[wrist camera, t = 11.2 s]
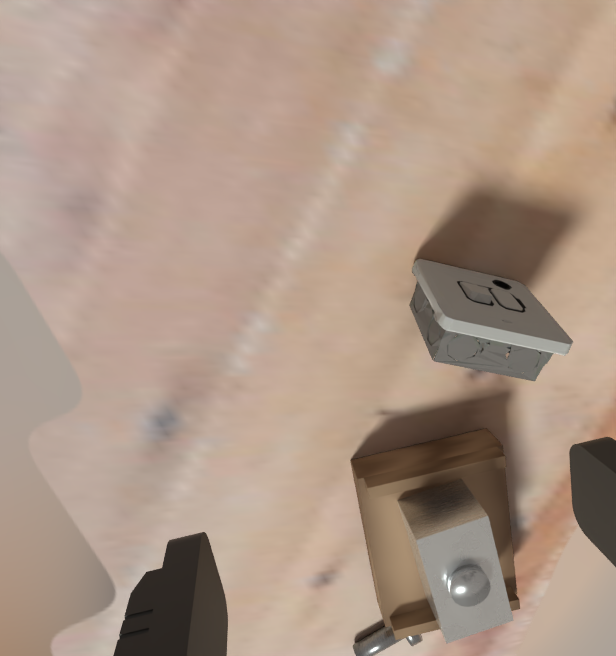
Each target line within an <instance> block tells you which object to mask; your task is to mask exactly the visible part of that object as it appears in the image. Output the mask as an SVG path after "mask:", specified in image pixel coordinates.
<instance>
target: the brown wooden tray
mask: <svg viewBox="0 0 616 656" xmlns="http://www.w3.org/2000/svg"><path fill="white" fill-rule="evenodd" d="M350 461H351V466H352V471H353V476H354V482H355V487H356V492H357V497H358V502H359V508H360V513H361V518H362V523H363V528H364V534H365V539H366V544H367V549H368V555H369V560H370V565H371V570H372V575H373V581H374V586H375V591H376V596H377V601H378V605H379V608H380V611H381V614H382V617H383V621H384V624H385V627H389V626H391V627H392V630H393V633H394V636H395V639H396V640H398V639H402V638H406V637H410V636H414V635H418V634H422V633H426V632H430V631H434V630H438V629H440V627H439V625H438V623H437V620H436V618H435V616H434V613H433V611H432V609H431V607H430V604H429V602H428V600H427V597H426V595H425V592H424V588H423V585H422V581H421V578H420V575H419V571H418V568H417V565H416V561H415V558H414V555H413V551H412V548H411V545H410V541H409V538H408V535H407V531H406V528H405V525H404V521H403V518H402V515H401V511H400V508H399V505H398V501H397V500H399V499H402V498H405V497H408V496H411V495H414V494H417V493H420V492H423V491H426V490H429V489H432V488H435V487H438V486H441V485H444V484H447V483H450V482H453V481H456V480H459V479H462V480H463V481H464V483H465V484H466V486H467V487H468V488H469V490H470V491H471V493H472V494H473V495H474V497H475V498H476V500H477V501H478V502H479V504H480V505H481V506H482V508H483V509H484V511H485V512H486V513H487V515H488V517H489V521H490V525H491V529H492V534H493V538H494V542H495V546H496V550H497V554H498V558H499V563H500V567H501V571H502V575H503V579H504V583H505V587H506V592H507V596H508V600H509V604H510V608H511V611H513V610H517V609H520V603H519V598H518V597H517V595H516V594H517V588H516V578H515V567H514V557H513V547H512V537H511V526H510V516H509V506H508V496H507V485H506V475H505V467H506V458H505V455H504V454H503V445H502V444H501V443H500V442H499V441H498V440H497V439H496V438H495V437H494V436H493V435H492V434H491V433H490V432H489V431H488V430H487V429H482V430H478V431H473V432H469V433H465V434H460V435H456V436H452V437H448V438H443V439H439V440H435V441H430V442H426V443H422V444H417V445H413V446H409V447H405V448H400V449H396V450H392V451H387V452H383V453H379V454H374V455H370V456H366V457H362V458H357V459H353V460H350Z"/></svg>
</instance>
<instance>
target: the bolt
mask: <svg viewBox="0 0 616 656" xmlns="http://www.w3.org/2000/svg"><path fill="white" fill-rule="evenodd" d="M402 639H404V638H402ZM402 639H398V640H396V639H395V636H394V633H393V630H392V627H391V626H389V627H383V628H381V629H380V630H378V631H376V632H374V633H373V634H371V635H369V636H367V637H366V638H364V639H362V640H360V641H359V642H357V643H355V644H354V645H353V649H354V652H355V654H356V656H374V655H376V654H378V653H379V652H381V651H383V650H385V649H386V648H388V647H390V646H392V645H393V644H395V643H397V642H399V641H400V640H402ZM406 639H407V640H408V642H409V643H410V645H411V646H414V645H416V644H417V643H419V642H421V641H422V636H421V634H418V635H414V636H410V637H406Z"/></svg>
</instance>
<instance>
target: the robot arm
mask: <svg viewBox="0 0 616 656" xmlns="http://www.w3.org/2000/svg"><path fill="white" fill-rule="evenodd" d="M570 472H571V489H572V505H573V511H574V514H575V517H576V520H577V522H578V524H579V526H580V528H581V529H582V531H583V532H584V534H585V535H586V536H587V537H588V538H589V539H590V541H591V542H592V543H593V544H594V545H595V546H596V547H597V548H598V549H599V550H600V551H601V552H602V553H603V554H604V555H605V556H606V557H607V558H608V559H609V560H610V561H611V563H612V564H613V565H614V566H615V567H616V441H615V440H614V439H612V438H610V437H604V438H600V439H596V440H591V441H587V442H583V443H579V444H575V445H573V446H572V447H571V449H570ZM227 631H228V615H227V605H226V599H225V594H224V590H223V587H222V583H221V580H220V576H219V573H218V570H217V566H216V563H215V559H214V556H213V553H212V549H211V546H210V543H209V539H208V537H207V535H206V533H205V532H202V533H198V534H194V535H189V536H185V537H181V538H177V539H173V540H169V542H168V544H167V548H166V553H165V557H164V562H163V566H162V568H161V569H157V570H153V571H149V572H146V573H145V575H144V576H143V577H142V579H141V580H140V582H139V583H138V584H137V586H136V587H135V589H134V590H133V591H132V593H131V595H130V598H129V602H128V606H127V609H126V613H125V620H124V621H123V624H122V627H121V631H120V634H119V636H120V640H118V641H117V645H116V649H115V652H114V656H226V655H227Z"/></svg>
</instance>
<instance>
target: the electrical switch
mask: <svg viewBox="0 0 616 656" xmlns="http://www.w3.org/2000/svg"><path fill="white" fill-rule="evenodd" d="M412 273H413V274H414V276H416V278H417V280H418V282H417V285H416V289H415V293H414V296H413V298H412V301H411V303H410V308H411V310H412V312H413V315H414V317H415V320H416V322H417V324H418V327H419V329H420V331H421V334H422V336H423V339H424V341H425V343H426V346H427V348H428V350H429V353H430V355H431V358H432V360H433V358H434V356H435V358H434V361H435V362H440V363H445V364H450V365H455V366H460V367H465V368H470V369H475V370H480V371H486V372H491V373H496V374H501V375H506V376H511V377H516V378H521V379H526V380H531V381H535V380H536V378H537V376H538V375H539V373H540V371H541V369H542V368H543V366H544V365H545V364H546V363H547V362H548V361H549V360H550V358H551V356H552V355H553V354H554V353H555V354H560V355H564V356H565V355H566V354H567V353H568V352H569V350H570V347H571V345H572V343H573V341H572V339H571V338H570V337H569V336H568V335H567V334H566V332H565V331H564V330H563V329H562V328H561V327H560V325H559V324H558V323H557V322H556V321H555V320H554V318H553V317H552V316H551V315H550V314H549V313H548V311H547V310H546V309H545V308H544V307H543V306H542V304H541V303H540V302H539V301H538V300H537V299H536V297H535V296H534V295H533V294H532V293H531V292H530V290H529V289H528V288H527V287H526V286H525V285H523V284H522V283H520V282H518V281H514V280H510V279H506V278H502V277H497V276H493V275H489V274H484V273H480V272H476V271H472V270H467V269H463V268H459V267H454V266H450V265H446V264H441V263H437V262H433V261H428V260H424V259H417V260H416V261H415V263H414V265H413V268H412ZM456 335H457V336H456ZM455 336H456V337H455ZM477 340H479V342H478V341H477ZM439 346H440V347H439ZM438 348H439V349H438ZM437 350H438V351H437ZM436 352H437V353H436ZM475 353H476V354H475ZM507 353H510V354H509V356H508V358H507V359H506V355H505V354H507ZM435 354H436V355H435ZM474 354H475V355H474ZM455 359H456V360H458V361H456V360H455ZM509 367H510V368H509ZM523 372H524V373H523Z"/></svg>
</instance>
